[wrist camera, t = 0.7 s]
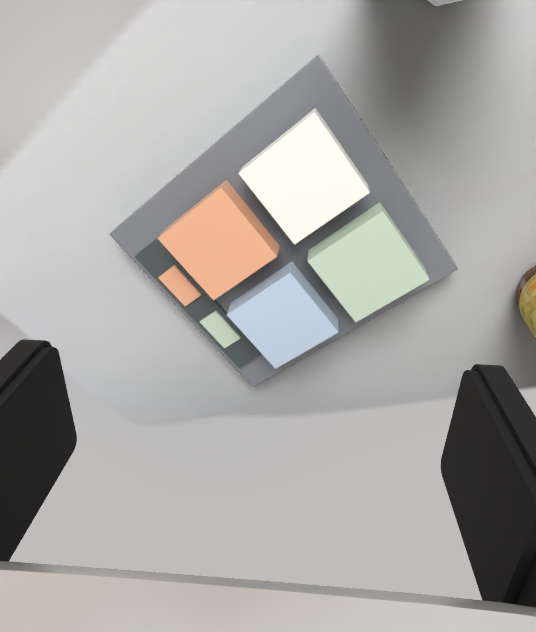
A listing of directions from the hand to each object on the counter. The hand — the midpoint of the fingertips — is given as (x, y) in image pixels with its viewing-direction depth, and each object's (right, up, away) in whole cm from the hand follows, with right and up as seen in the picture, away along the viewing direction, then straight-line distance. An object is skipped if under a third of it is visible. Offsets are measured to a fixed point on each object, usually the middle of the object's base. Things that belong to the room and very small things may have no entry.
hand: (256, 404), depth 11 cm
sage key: (+7, +6, +24) cm, 26 cm away
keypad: (+1, +8, +28) cm, 29 cm away
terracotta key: (-3, +8, +24) cm, 26 cm away
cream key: (+3, +12, +21) cm, 25 cm away
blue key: (+2, +3, +27) cm, 27 cm away
